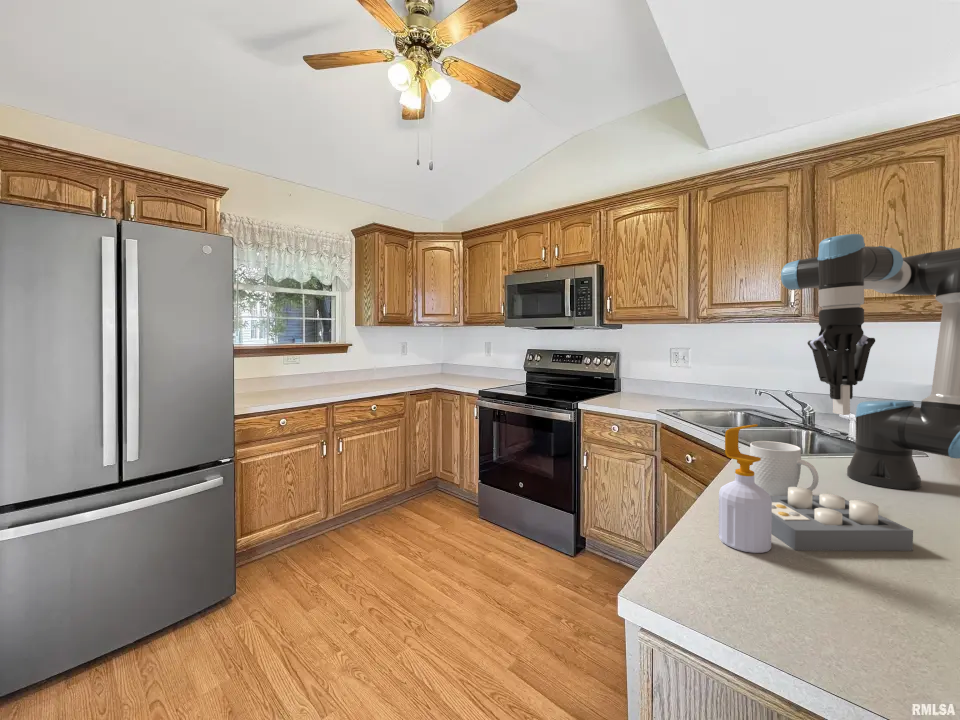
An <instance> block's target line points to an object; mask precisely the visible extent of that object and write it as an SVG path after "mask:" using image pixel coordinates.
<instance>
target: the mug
mask: <svg viewBox="0 0 960 720" xmlns="http://www.w3.org/2000/svg"><path fill="white" fill-rule="evenodd" d="M749 448H750V449H749V455H750V456H755V457H759V458H761V461H757V462H753V465H750V470H751V471H754V482H755V484H756V485H758V486H760V487H761V488H763V489H764V490H765V491H766V492H767V493H768V494H769V495H770V496H788V487H798V485H799V481H800V477H801V467H802V465H803V466H805V467H807V468H808V469H809V470H810V473H811V475H812V483H811V485H810V486H809V487H808V488H807V487H806V489H808V490H811V491H812V492H813V491H815V489H816V488H817V486H818V485H819V474H818V471H817V469H816V467H815V466H814V465H813V464H811V463H810V462H809V461H806V460H803V459H802V449H801V447H800V446H797V445H795V444H791V443H786V442H780V441H779V442H778V441H772V440H771V441H770V440H769V441H768V440H757V441H752V442H750V444H749Z"/></svg>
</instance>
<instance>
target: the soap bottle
mask: <svg viewBox="0 0 960 720" xmlns="http://www.w3.org/2000/svg"><path fill="white" fill-rule="evenodd" d="M755 427H758V423H757V424H749V425H741V426H737V427H730V428H728V429H727V430H725V433H724V453H725V456H726V457H727V458H729V459H731V460H736V464H739V468H736V469H734V470H735V472H734V480H733V481H730V482H727V483H726V484H724V485H722V486H720V489H719V490H718V491H719V492H718V539H719V540H720V541H721V542H722V543H723V544H725V545H726V546H728V547H730V548H732V549H735V550H738V551H740V552H744V553H750V554H761V553H767V552H769V551H770V550H771V549H772V534H771V530H772V500H771V497H770V495H769V494H768V493H767V492H766V491H765V490H764V489H763V488H761V487H760V486H758V485H756V484H755V482H754V471H751V467H750V466H751V465H753V462H757V461H761V458H759V457H755V456H750V454H746V453H742V452H741V451H740V450H739V437H740V436H739V434H740V430H743V429H751V428H755Z"/></svg>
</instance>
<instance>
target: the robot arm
mask: <svg viewBox="0 0 960 720" xmlns="http://www.w3.org/2000/svg"><path fill="white" fill-rule="evenodd" d="M864 239H865V237H864V236H863V234H860V233H850V234H842V235H834V236H831V237H827V238H824V239H822V240H821V241H820V242H819V244H818V255H817V256H815V257H814V256H813V257H809V258H803V259H802V258H801V259H798V260H794V261H790V262H787V263H785V265H783V266H782V269H781V272H780V275H781V276H780V280H781V284H782V285H783V287H784V288H786V290H787V289H788V290H792V291H793V290H795V291H796V290H799V291H800V290H804V289H818V307H820V308H822V309H820V310H819V311H818V326H819V327H820V330H819V332H818V337H815V338H814V339H812V340H811V339H810V340H808V341H807V345H808V347H809V348H810V349H811V350H812V354H813V358H814V362H815V366H816V369H817V374H818V377H819V381H821V382H822V383H826V384H828V385H829V397H830V399H831V400H832V413H833V414H835V415H836V414H837V415H842V416H846V415H847V416H850V415H851V400H852V399H853V396H854V392H853V391H854V390H853V389H854V388H853V387H854V386H857V385H858V382H862V381H863V380H864V377H865V372H866V369H867V365H868V362H869V361H868V360H869V357H870V352H871V348H872V347H873V346H874V345H875V342H876V338H875V337H868V336H867V335H865V333H864V330H863V328H862V325H863V324H864V323H865V308H863V306H862V305H864V304H865V290H873V291H875V292H877V293H880V294H888V295H889V294H890V295H891V294H892V295H906V296H935V298H934V299H935V300H936V301H937V303H939V304H940V305H942V308H941V316H940V317H941V318H940V322H939V323H940V324H939V332H938V339H937V346H936V354H935V361H934V362H935V363H934V369H933V378H932V385H931V393H930V395H928V396H927V397H925V398H922V399H921V403H920V407H917V406H915V403H914V401H912V400H901V399H899V400H898V399H897V400H896V399H895V400H891V399H890V400H889V399H888V400H887V399H885V400H866V401H862V402H859V403H857V405H856V410H855V415H854V416H855V417H854V418H855V450H854V453H853V456H852V458H851V460H850V463H849V465H848V466H847V469H846V472H847V473H846V475H847V477H849V478H850V479H852V480H854V481H856V482H860V483H863V484H867V485H870V486H871V485H872V486H875V487H882V488H888V489H897V490H916V489H920V488H921V487H922V478H921V475H919V472H918V469H917V466H916V463H915V461H914V458H913V451H916V452H922V453H926V454H933V455H937V456H942V457H950V458H951V459H956V460H957V459H960V247H958V248H949V249H944V250H943V249H942V250H937V251H930V252H924V253H920V254H919V253H918V254H914V255H910V256H906V257H903V255H902V254H901V252H900V251H899V250H897V249H896V248H893V247H886V246H883V245H879V246H871V245H869V246H868V245H867V246H866V243H865V240H864ZM861 306H862V307H861Z"/></svg>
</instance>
